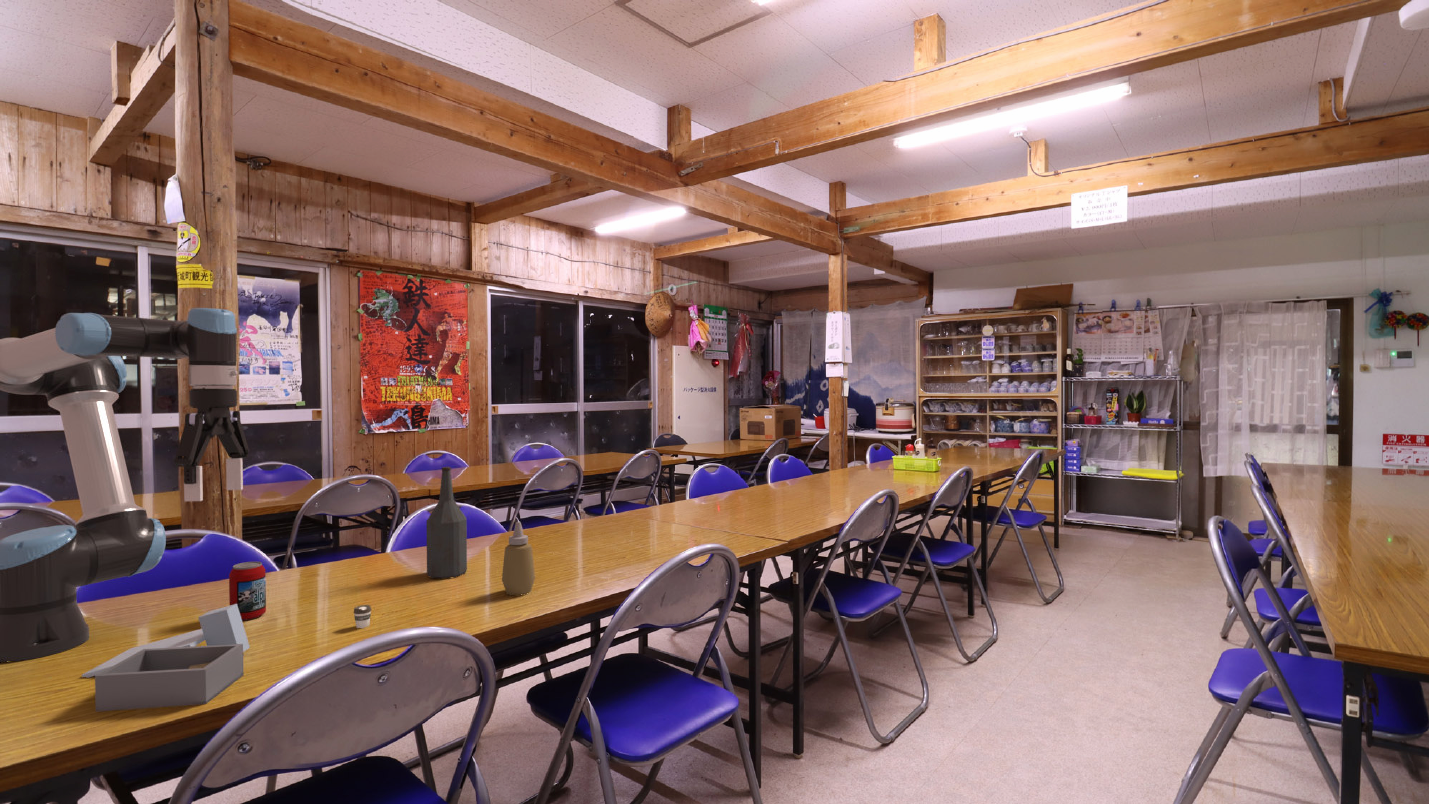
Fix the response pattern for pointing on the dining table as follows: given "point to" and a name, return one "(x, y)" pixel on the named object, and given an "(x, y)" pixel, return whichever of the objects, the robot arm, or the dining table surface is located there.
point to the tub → (169, 677)
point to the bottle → (446, 534)
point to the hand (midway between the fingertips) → (215, 495)
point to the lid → (194, 636)
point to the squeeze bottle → (518, 564)
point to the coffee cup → (362, 615)
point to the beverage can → (248, 589)
